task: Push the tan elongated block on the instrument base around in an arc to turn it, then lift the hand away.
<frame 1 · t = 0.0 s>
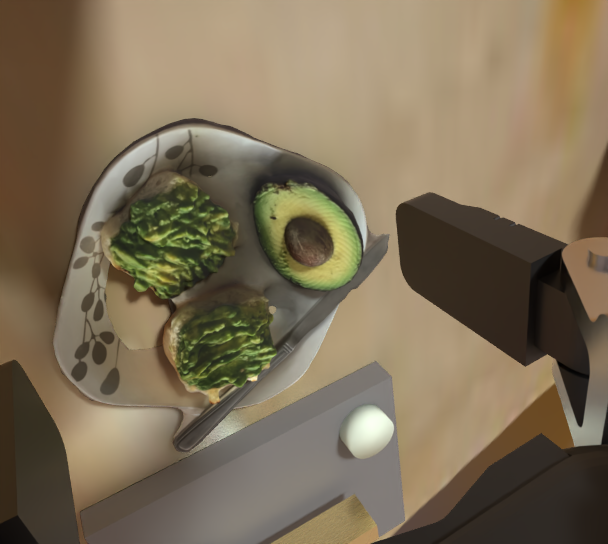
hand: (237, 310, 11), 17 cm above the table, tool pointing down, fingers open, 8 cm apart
instrument base: (267, 507, 41), on the table
salad plate: (224, 269, 31), on the table
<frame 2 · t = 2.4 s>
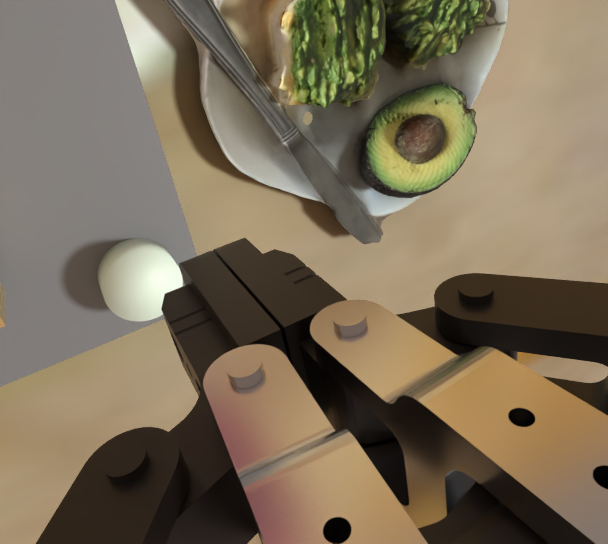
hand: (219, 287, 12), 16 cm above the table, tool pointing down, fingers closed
salad plate: (355, 62, 30), on the table
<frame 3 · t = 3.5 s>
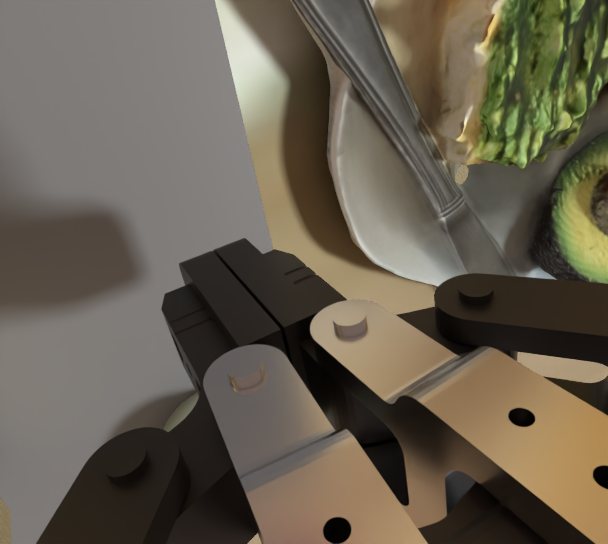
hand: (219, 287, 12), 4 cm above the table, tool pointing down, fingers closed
salad plate: (528, 89, 20), on the table
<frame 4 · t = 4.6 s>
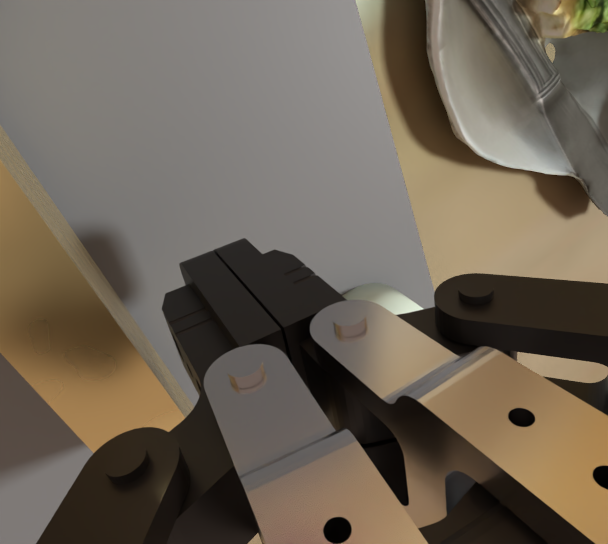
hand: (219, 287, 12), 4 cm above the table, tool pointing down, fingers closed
tan elongated block: (2, 223, 9), point 4 cm above the table, hinge at 1.4°, touching gripper
instrument base: (37, 206, 13), on the table
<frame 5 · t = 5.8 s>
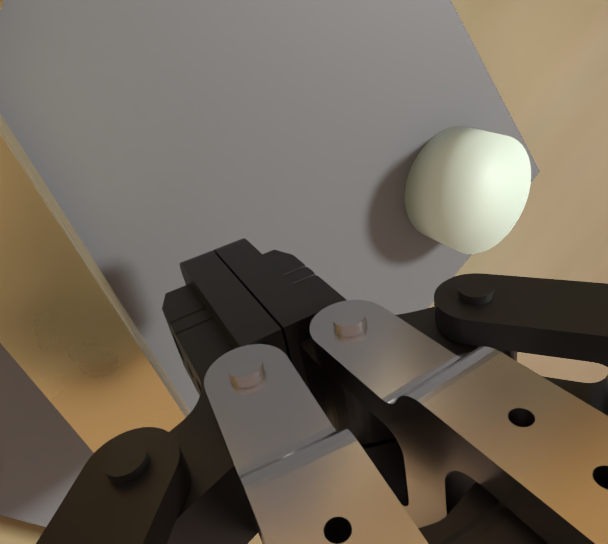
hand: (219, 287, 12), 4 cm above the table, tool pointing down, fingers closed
tan elongated block: (6, 220, 9), point 4 cm above the table, hinge at 23.6°, touching gripper
instrument base: (109, 150, 14), on the table
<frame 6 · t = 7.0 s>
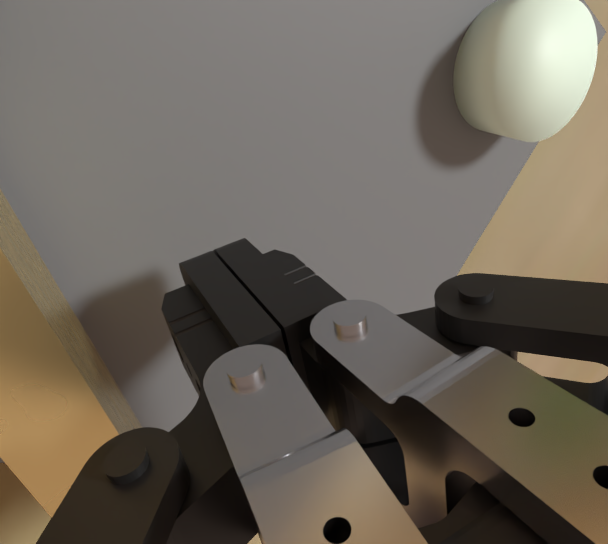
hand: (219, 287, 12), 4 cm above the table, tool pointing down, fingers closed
instrument base: (135, 106, 13), on the table
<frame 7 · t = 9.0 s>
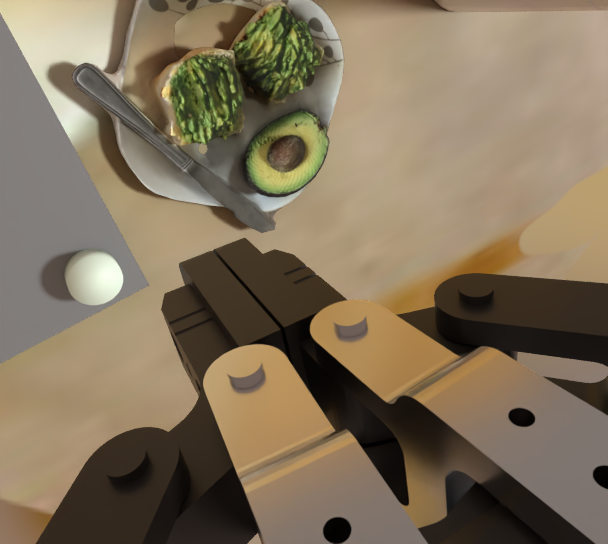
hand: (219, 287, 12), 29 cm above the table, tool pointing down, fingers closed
salad plate: (234, 103, 41), on the table
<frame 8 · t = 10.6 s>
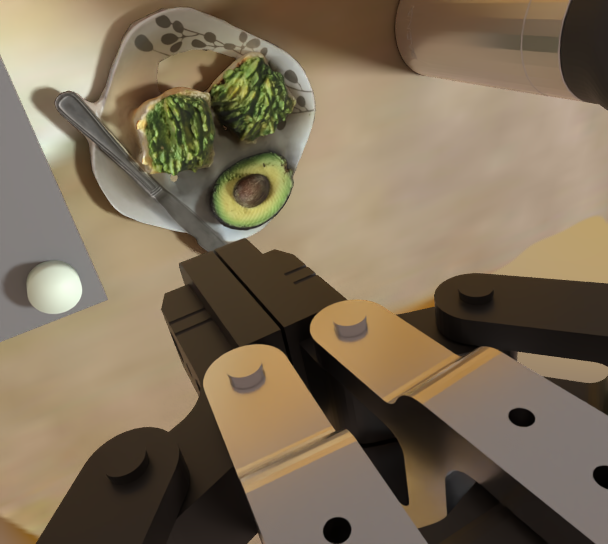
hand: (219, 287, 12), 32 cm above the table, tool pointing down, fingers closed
salad plate: (208, 138, 44), on the table
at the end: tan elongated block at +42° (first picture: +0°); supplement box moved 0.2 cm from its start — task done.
